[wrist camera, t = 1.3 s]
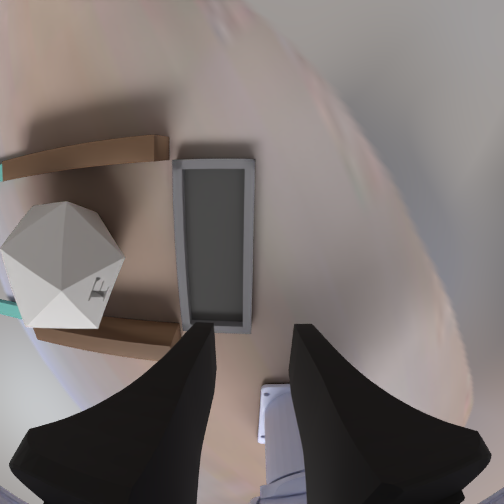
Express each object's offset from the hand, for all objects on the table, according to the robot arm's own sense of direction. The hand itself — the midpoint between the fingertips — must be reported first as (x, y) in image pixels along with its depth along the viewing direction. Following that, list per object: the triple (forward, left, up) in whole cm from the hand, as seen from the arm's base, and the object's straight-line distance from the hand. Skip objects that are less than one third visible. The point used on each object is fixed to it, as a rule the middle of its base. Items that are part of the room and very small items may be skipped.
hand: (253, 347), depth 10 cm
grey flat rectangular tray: (0, +2, -10) cm, 11 cm away
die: (0, +13, -11) cm, 16 cm away
